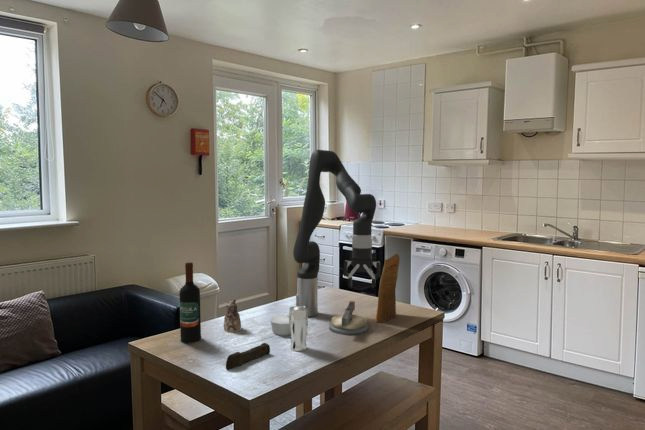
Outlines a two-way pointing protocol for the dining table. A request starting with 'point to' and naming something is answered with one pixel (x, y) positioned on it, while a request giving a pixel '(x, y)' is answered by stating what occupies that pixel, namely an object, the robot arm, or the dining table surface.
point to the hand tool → (246, 355)
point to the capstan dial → (349, 319)
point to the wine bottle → (190, 309)
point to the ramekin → (280, 325)
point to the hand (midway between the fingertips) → (361, 287)
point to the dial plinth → (348, 332)
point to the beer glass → (298, 327)
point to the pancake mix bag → (388, 290)
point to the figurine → (232, 318)
